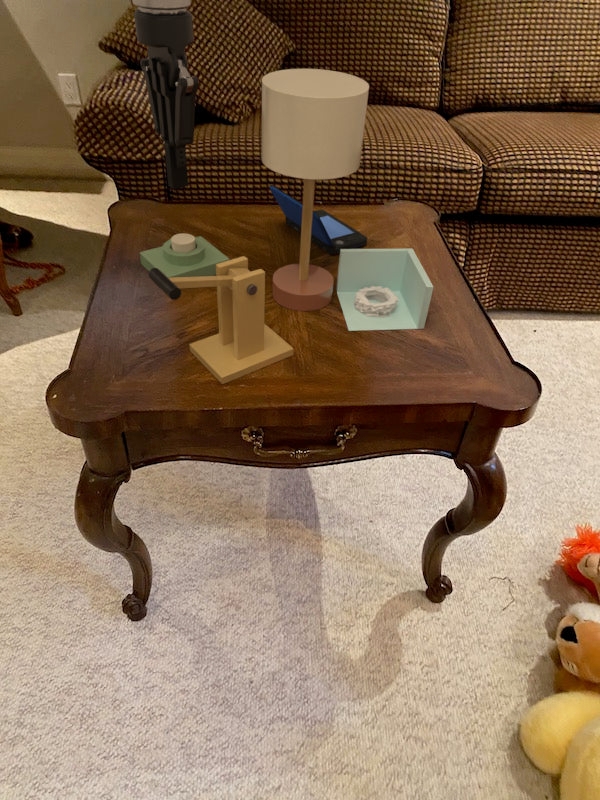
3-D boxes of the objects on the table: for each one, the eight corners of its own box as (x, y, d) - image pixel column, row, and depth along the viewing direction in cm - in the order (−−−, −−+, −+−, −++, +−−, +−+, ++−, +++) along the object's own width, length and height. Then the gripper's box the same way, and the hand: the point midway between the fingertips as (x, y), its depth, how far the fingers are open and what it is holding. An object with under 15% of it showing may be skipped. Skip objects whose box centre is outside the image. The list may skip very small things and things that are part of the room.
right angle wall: (336, 289, 99) (340, 249, 94) (404, 288, 101) (412, 248, 96) (348, 330, 90) (354, 288, 85) (423, 328, 92) (433, 287, 87)
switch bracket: (222, 384, 80) (218, 297, 70) (189, 350, 85) (181, 265, 75) (293, 355, 85) (298, 270, 76) (258, 325, 90) (259, 242, 81)
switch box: (167, 289, 97) (165, 267, 94) (140, 263, 102) (137, 242, 100) (230, 270, 102) (229, 249, 100) (201, 246, 108) (200, 226, 105)
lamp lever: (168, 303, 69) (170, 284, 67) (147, 282, 72) (149, 264, 70) (258, 297, 77) (262, 280, 76) (236, 279, 80) (239, 262, 79)
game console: (369, 246, 112) (376, 198, 105) (313, 263, 106) (316, 214, 99) (321, 214, 121) (324, 169, 115) (266, 228, 115) (267, 181, 109)
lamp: (293, 328, 90) (305, 103, 69) (243, 287, 98) (241, 75, 77) (361, 301, 97) (391, 89, 76) (310, 265, 105) (324, 64, 84)
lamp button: (178, 256, 98) (177, 246, 97) (167, 246, 100) (166, 236, 99) (200, 250, 100) (199, 240, 98) (188, 240, 102) (187, 231, 101)
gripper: (213, 15, 75) (220, 195, 91) (165, -1, 82) (179, 167, 98) (159, 19, 71) (176, 206, 87) (114, 1, 79) (138, 176, 95)
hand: (178, 185), depth 93 cm, fingers closed
